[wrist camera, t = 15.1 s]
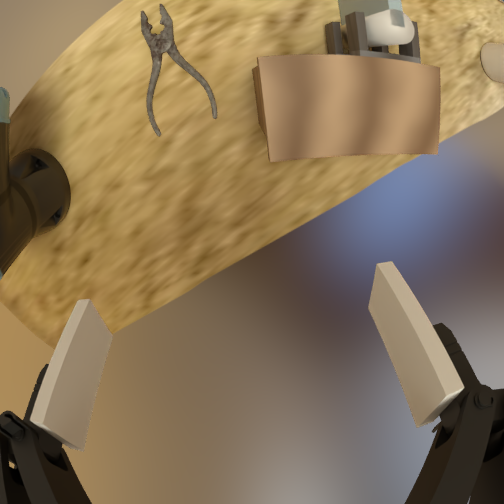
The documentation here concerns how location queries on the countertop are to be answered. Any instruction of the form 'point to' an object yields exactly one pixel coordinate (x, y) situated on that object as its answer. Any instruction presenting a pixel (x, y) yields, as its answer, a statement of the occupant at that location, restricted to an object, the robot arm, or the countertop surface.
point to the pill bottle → (493, 60)
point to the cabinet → (348, 99)
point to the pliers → (166, 44)
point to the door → (379, 21)
